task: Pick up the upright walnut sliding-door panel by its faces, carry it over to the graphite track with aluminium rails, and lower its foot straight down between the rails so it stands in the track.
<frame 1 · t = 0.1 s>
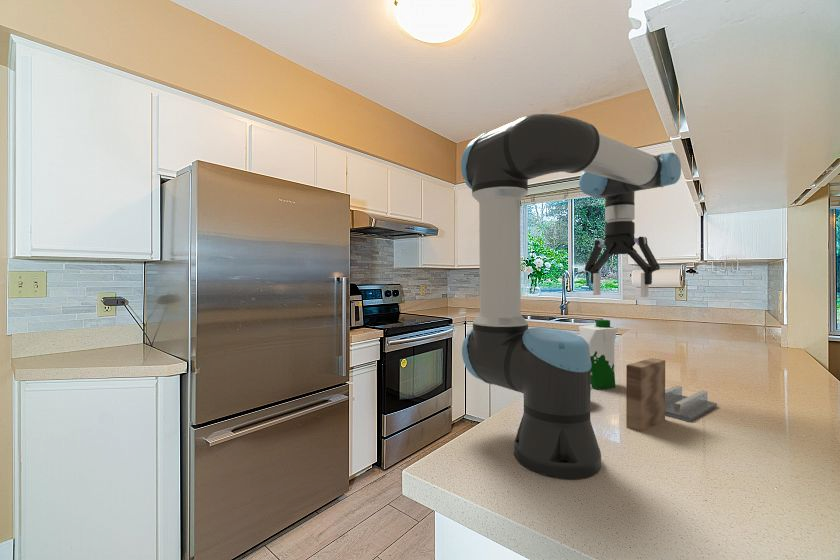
hand: (619, 295, 109), 28 cm above the countertop, tool pointing down, fingers open, 13 cm apart
door panel: (646, 423, 87), on the countertop
milk carton: (597, 385, 117), on the countertop
track: (678, 407, 97), on the countertop
ramekin: (568, 403, 102), on the countertop
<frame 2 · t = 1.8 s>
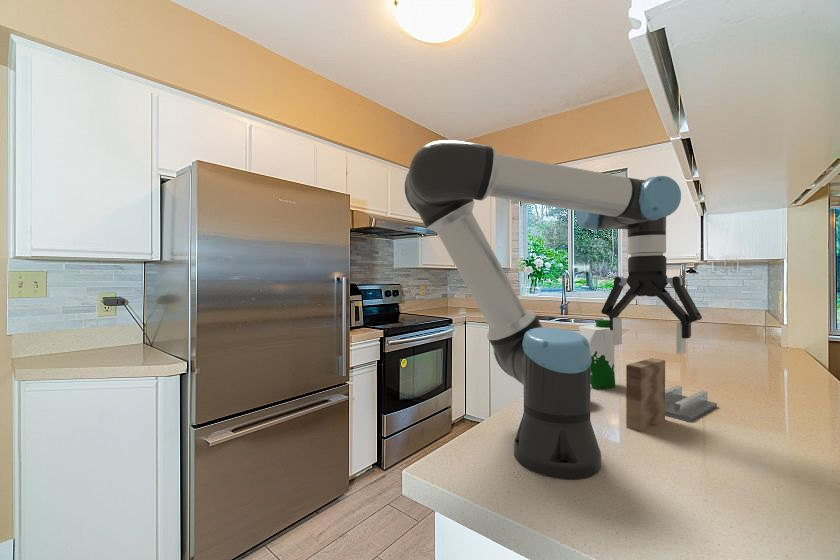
hand: (647, 348, 87), 17 cm above the countertop, tool pointing down, fingers open, 13 cm apart
nothing on the countertop moved.
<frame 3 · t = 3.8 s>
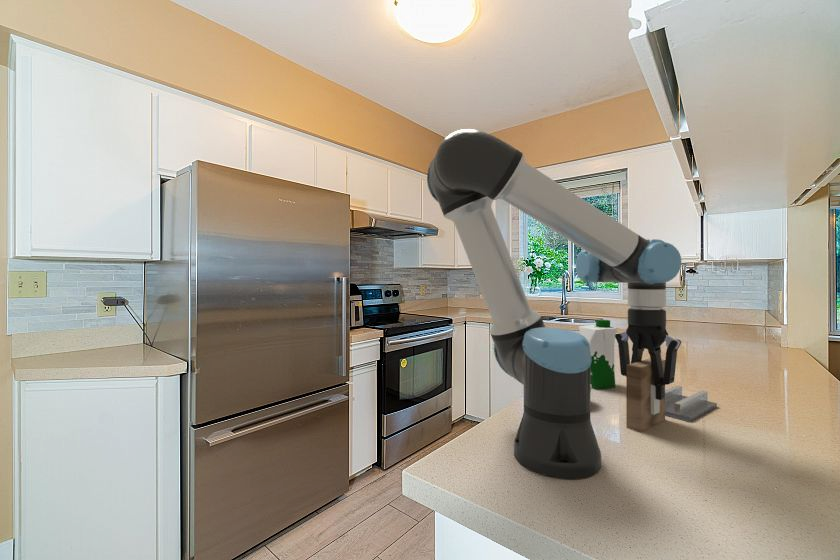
hand: (646, 410, 87), 3 cm above the countertop, tool pointing down, fingers closed on door panel, 3 cm apart
door panel: (646, 423, 87), on the countertop, touching gripper
everything else where it was.
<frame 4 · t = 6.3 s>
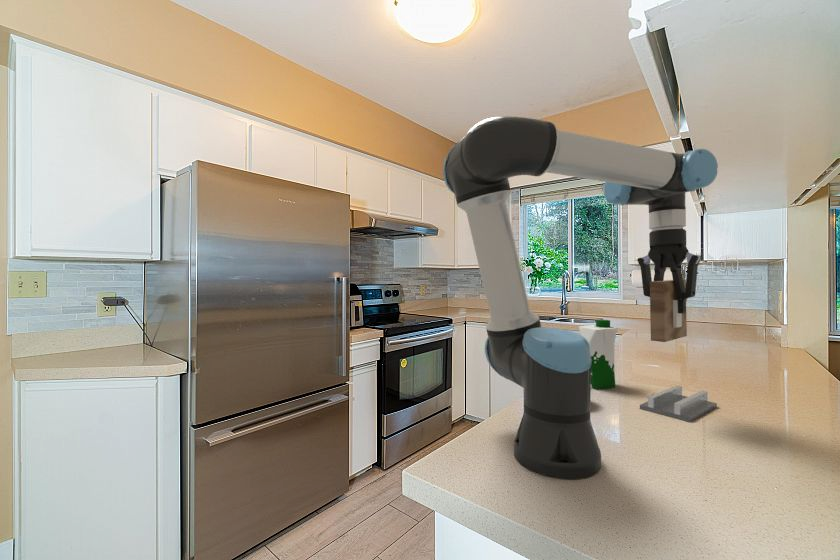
hand: (669, 326, 93), 21 cm above the countertop, tool pointing down, fingers closed on door panel, 3 cm apart
door panel: (669, 338, 93), point 18 cm above the countertop, touching gripper
everything else where it was.
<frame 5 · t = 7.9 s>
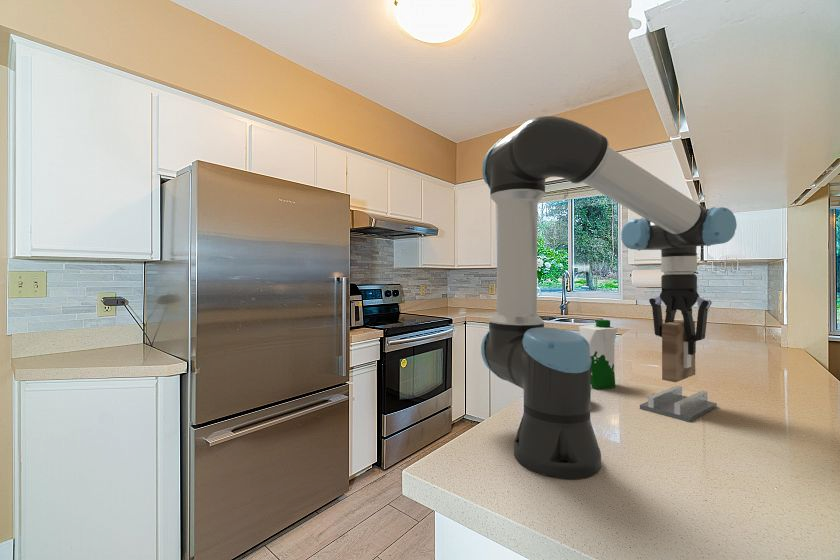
hand: (679, 365, 97), 11 cm above the countertop, tool pointing down, fingers closed on door panel, 3 cm apart
door panel: (679, 377, 97), point 8 cm above the countertop, touching gripper
everything else where it was.
when the fingers open (5 cm above the countertop, at t = 9.2 s): door panel drops 1 cm, resting on track.
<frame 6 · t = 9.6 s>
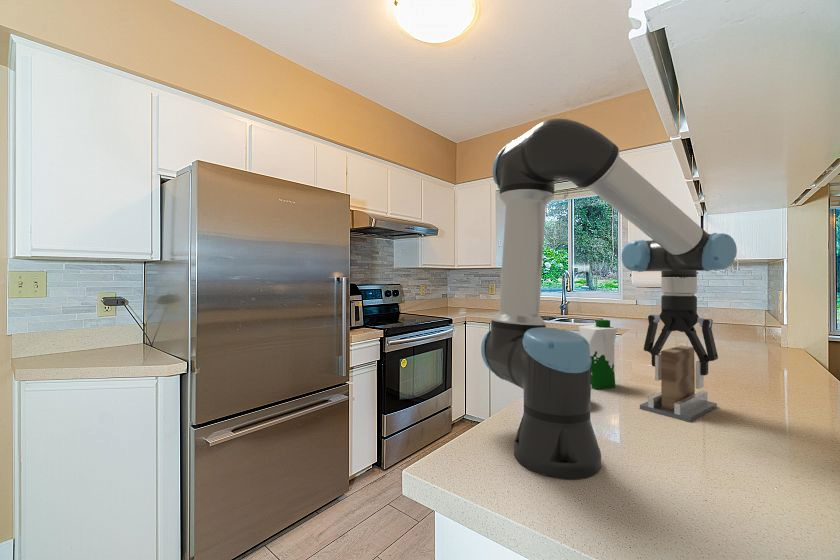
hand: (678, 383, 97), 6 cm above the countertop, tool pointing down, fingers open, 8 cm apart
door panel: (678, 403, 97), point 1 cm above the countertop, touching track
everything else where it was.
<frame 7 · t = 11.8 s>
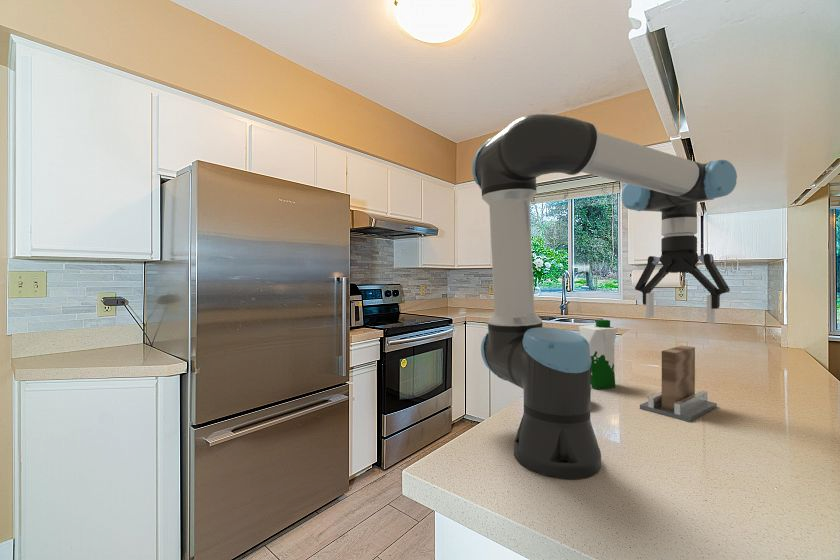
hand: (678, 319, 97), 22 cm above the countertop, tool pointing down, fingers open, 13 cm apart
nothing on the countertop moved.
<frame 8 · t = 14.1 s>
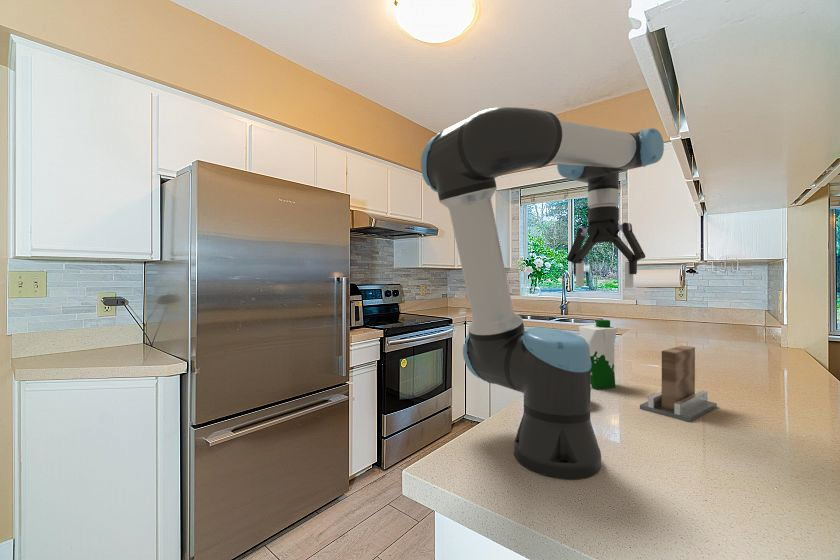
hand: (603, 287, 102), 31 cm above the countertop, tool pointing down, fingers open, 13 cm apart
nothing on the countertop moved.
at the end: door panel inside the target area on the track (0.0 cm from its centre), point 1.0 cm above the track's base; door panel tilted 0°; the gripper is holding nothing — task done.
